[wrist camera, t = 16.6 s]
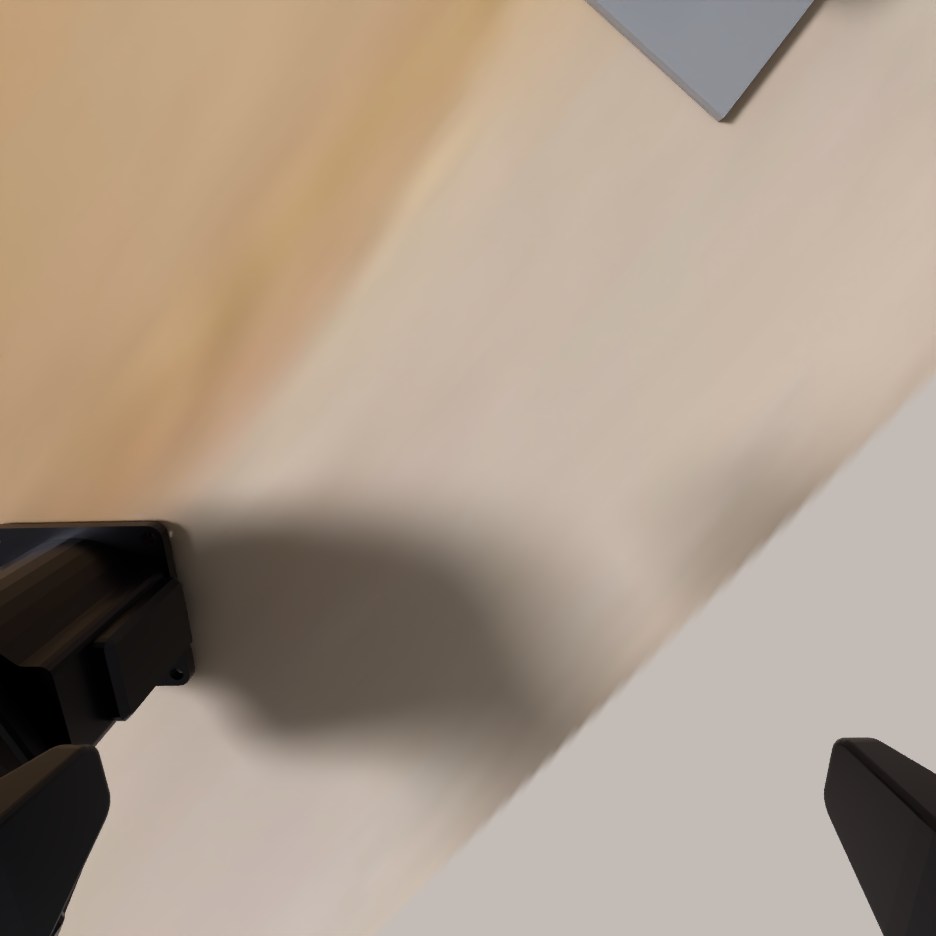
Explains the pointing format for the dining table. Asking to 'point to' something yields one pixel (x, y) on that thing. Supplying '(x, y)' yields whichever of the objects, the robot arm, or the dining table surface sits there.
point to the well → (706, 40)
